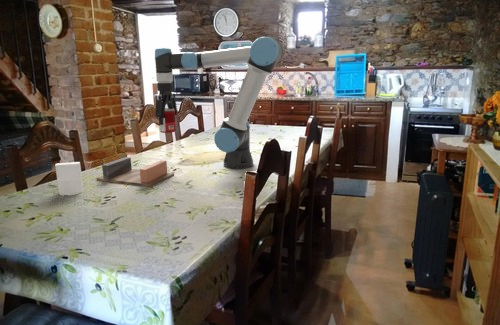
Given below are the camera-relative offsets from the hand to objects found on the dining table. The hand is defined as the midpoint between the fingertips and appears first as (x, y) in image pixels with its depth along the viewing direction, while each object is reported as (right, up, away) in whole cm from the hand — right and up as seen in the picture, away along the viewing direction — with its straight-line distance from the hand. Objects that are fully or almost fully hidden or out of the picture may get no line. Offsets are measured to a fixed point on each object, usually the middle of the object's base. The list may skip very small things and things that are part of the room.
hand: (167, 129), depth 182 cm
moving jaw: (-3, -23, -15) cm, 27 cm away
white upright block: (-33, -28, -29) cm, 52 cm away
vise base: (-12, -23, -11) cm, 28 cm away
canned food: (0, -1, 0) cm, 1 cm away
